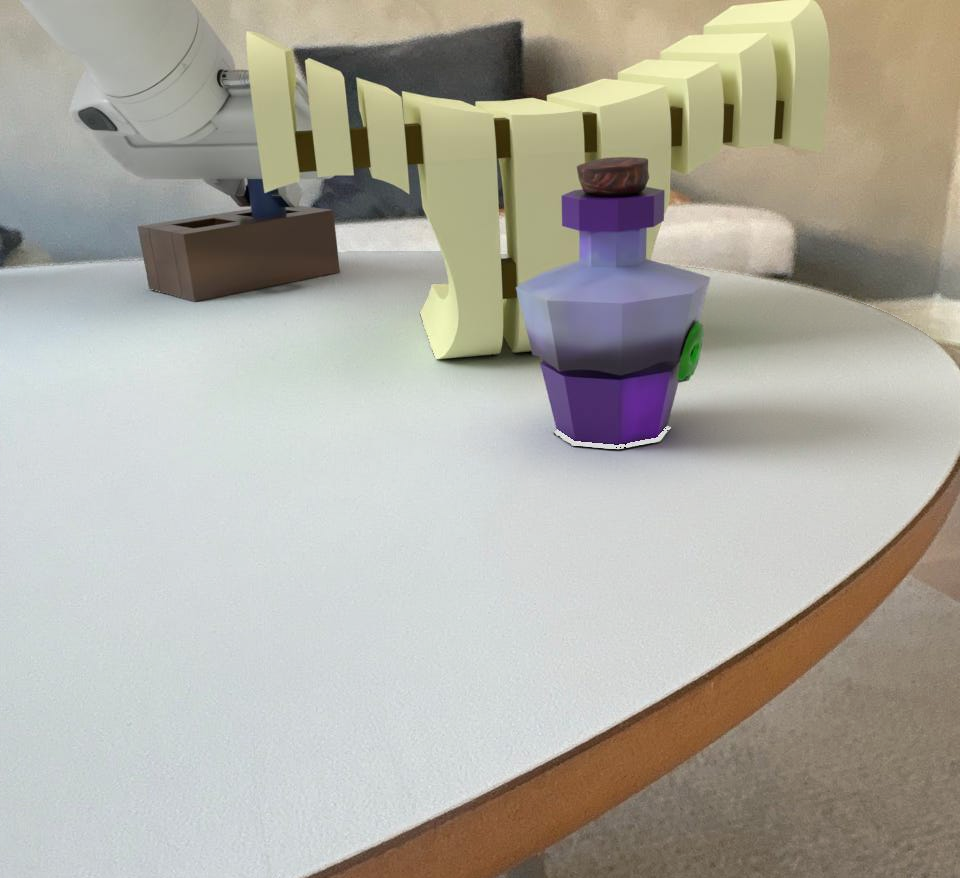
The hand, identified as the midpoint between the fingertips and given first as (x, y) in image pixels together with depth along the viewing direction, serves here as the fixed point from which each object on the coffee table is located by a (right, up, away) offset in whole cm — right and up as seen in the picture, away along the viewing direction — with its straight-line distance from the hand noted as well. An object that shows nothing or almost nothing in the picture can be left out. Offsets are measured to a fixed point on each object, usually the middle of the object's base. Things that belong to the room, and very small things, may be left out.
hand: (272, 200), depth 90 cm
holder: (-2, -7, +1) cm, 7 cm away
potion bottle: (+23, -25, -38) cm, 51 cm away
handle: (0, -6, +2) cm, 6 cm away
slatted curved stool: (+20, -16, -20) cm, 33 cm away
